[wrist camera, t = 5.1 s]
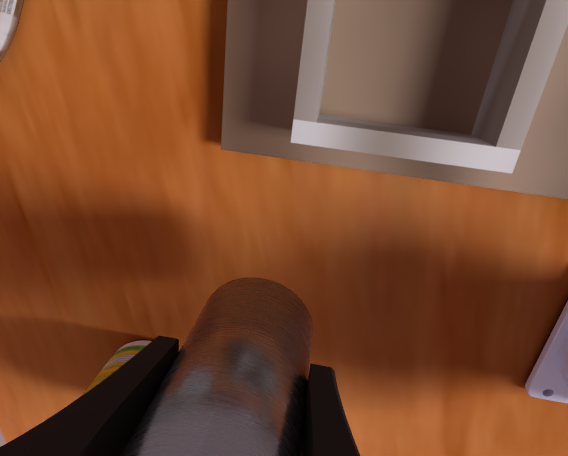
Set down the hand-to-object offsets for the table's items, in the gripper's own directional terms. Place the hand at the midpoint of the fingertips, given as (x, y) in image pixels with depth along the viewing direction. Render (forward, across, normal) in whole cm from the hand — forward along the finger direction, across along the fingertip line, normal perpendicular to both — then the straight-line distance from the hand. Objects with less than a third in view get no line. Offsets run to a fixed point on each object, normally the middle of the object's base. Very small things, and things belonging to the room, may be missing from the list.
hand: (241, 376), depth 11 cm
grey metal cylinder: (+2, 0, 0) cm, 2 cm away
